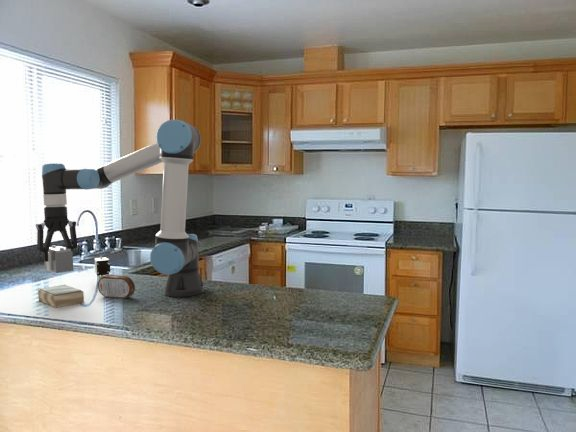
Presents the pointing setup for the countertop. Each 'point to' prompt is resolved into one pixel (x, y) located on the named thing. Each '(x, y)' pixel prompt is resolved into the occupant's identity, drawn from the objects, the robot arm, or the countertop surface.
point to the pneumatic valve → (102, 267)
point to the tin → (116, 286)
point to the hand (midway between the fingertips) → (59, 268)
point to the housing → (60, 259)
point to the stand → (60, 295)
